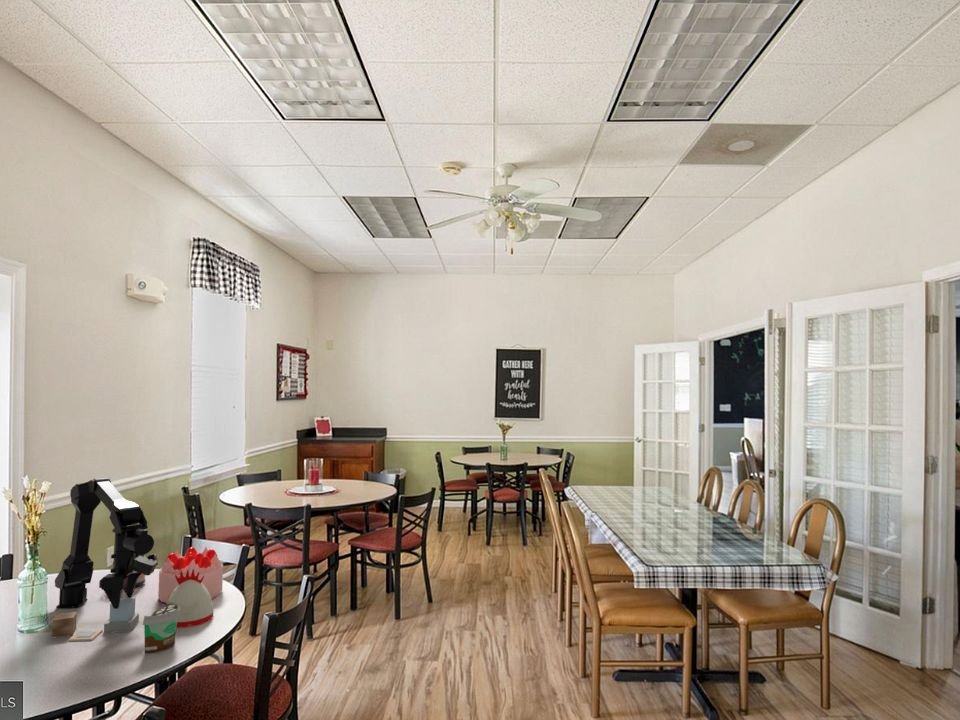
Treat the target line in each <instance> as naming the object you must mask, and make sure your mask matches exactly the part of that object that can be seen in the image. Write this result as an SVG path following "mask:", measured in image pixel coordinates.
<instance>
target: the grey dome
mask: <svg viewBox="0 0 960 720" xmlns="http://www.w3.org/2000/svg"><path fill="white" fill-rule="evenodd" d="M198 576H199V572H198V574H197V575H196V576H195V574H194V569H193V570H192V574H191V576H189V570H187V573H186V576H185V577H184V576H183V573H182V570H181V572H180V577H177V575H175V578H176V580H177V582H178V584H179V585H178V586H177V587H176V588H175V589H174V591H173V592H172V593H171V594H170V595H169V596H168V599H169V600H168V602H175V603H177V604H178V605H179V607H180V612H181V614H180V615H179V616H178V618H177V627H176V629H177V628H191V627H195V626H199V625H202V624H205V623H208V622H209V621H211V620H212V617H213V618H214V604H213V599H211V597H210V594H209V592H208V590H207V589H206V587H205V586H204V585H203V584H202V583H201V582H202V580H203V578H204V576H203V577H202V578H201V579H200V580H199V579H198Z"/></svg>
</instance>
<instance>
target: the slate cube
mask: <svg viewBox="0 0 960 720" xmlns="http://www.w3.org/2000/svg"><path fill="white" fill-rule="evenodd" d="M135 614H136V597H131V598H127V597H121V599H120V604H119V608H118V609H114V608H113V606H112V604H111V603H110V604H109V617H108V618H109V622H121V621H129V620H130V619H131V618H132V617H133V616H134V615H135Z"/></svg>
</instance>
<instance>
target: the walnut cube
mask: <svg viewBox="0 0 960 720" xmlns="http://www.w3.org/2000/svg"><path fill="white" fill-rule="evenodd" d="M51 621H52V623H51V639H56V638H61V637H63V638H64V637H70V636H71V637H73V636H74V635H75V632H76V630H77V623H78V622H77V621H78V612H77V611H71V612H62V613H61V612H60V613H56V614H55V615H54V617H53V619H51ZM55 637H56V638H55Z"/></svg>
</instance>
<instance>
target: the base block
mask: <svg viewBox="0 0 960 720" xmlns="http://www.w3.org/2000/svg"><path fill="white" fill-rule="evenodd" d="M139 621H140V613H135V615H134V616H133V617H132V618H131V619H130V620H129V621H121V622H109V619H107V620H106V621H105V622H104V623H103V633H105V634H109V633H124V632H131V631H132V630H134V628H135V627H136V626H137V625H138V623H139Z"/></svg>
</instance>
